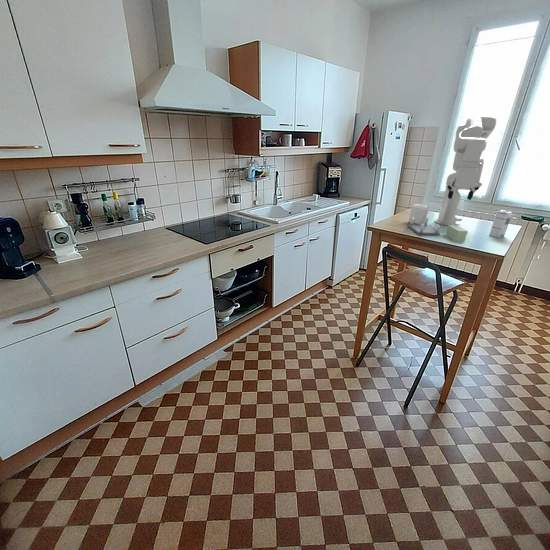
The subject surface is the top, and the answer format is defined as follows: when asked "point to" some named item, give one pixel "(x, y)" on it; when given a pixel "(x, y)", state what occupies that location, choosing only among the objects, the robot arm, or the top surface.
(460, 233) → the green block
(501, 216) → the syrup box
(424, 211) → the photo printer
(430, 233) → the standoff plate
